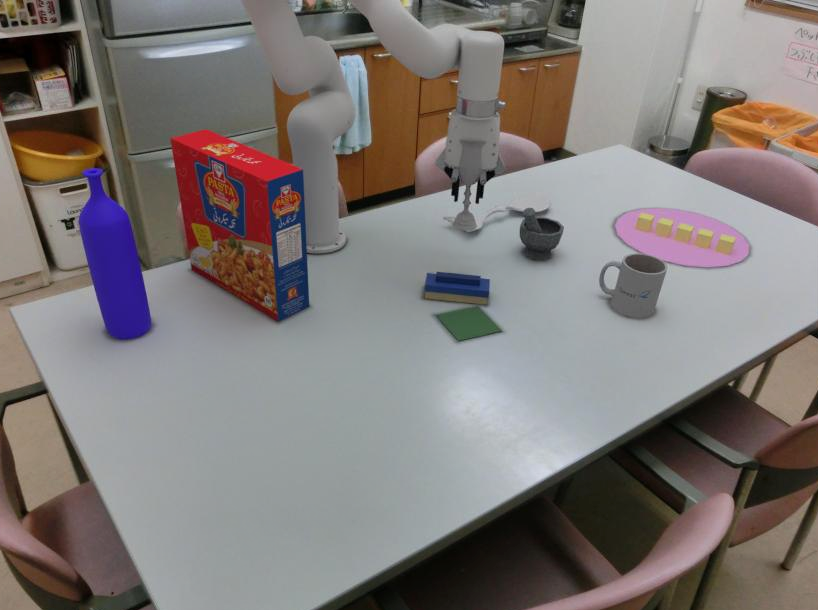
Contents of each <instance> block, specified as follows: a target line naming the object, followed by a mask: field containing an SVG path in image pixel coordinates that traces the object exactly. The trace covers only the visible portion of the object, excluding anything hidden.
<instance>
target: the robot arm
mask: <svg viewBox="0 0 818 610" xmlns="http://www.w3.org/2000/svg"><path fill="white" fill-rule="evenodd" d="M346 1H347V2H348V3H349V4H350V5H352V6H353V7H354V8H355V9H357V11H359V12H360V13H361V14H362V15H363V16H364V17H365V19H367V21H368V23H369V26H370V28H371V29H372V31H373V33H374V35H375V36H376V38H377V40H378V41H379V43H380V44H381V45H382V46H383V48H384V49H385V50H386V51H387V52H388V53H389V54H390V55H391V56H392V57H393V58H395V60H397V61H398V62H399V63H400V64H402V65H403V66H404V67H405V69H406V68H407V70H409V71H410V72H411V73H413V74H415V75H416V76H418V77H420V78H423V79H427V80H428V79H429V80H430V79H431V80H432V79H436V78H439V77H441V76H442V75H444V74H446V73H447V72H449V71H452V70H455V69H458V80H457V92H456V103H455V108H454V109H452V110H451V112H450V117H449V121H448V127H447V133H446V140H445V147H444V149H443V150H442V152H441V153H440V154H439V156H438V157H437V158H436V159H435V166H436V167H438V169H440V170H441V171H443V172H444V173H445V175H446V176H447V177H448V178H449V179H450V181H451V192H450V193H451V194H450V196H451V197H453V203H457V202H458V201H459V194H460V184H461V178H460V176H459V169H458V167H459V163H460V158H461V153H462V147H463V146H462V145H461V143H460V141H462V142H466V143H474V144H479V143H486V144H485V145H484V146H483V147H482V152H481V161H482V167H481V169H482V171H481V173H480V176H479V178H478V180H477V181H476V190H475V191H476V193H475V201H474V203H475V204H476V205H479V204H480V199H481V200H482V199H484V193H485V185H486V184H487V183H488V182H489V181H490V180H491V179H493V178H494V177H496V176H497V175H500V174H502V173H504V172H505V171H506V165H505V163H504V161H503V157H502V156H501V153H500V152H499V151H500V150H499V149H500V138H501V137H500V136H501V115H500V113H499V111H501V110H505V108H506V101H502V100H500V98H499V92H500V85H501V78H502V77H501V76H502V68H503V61H504V51H505V40H504V37H503V36H502V35H501V34H499V33H497V32H494V31H488V30H473V29H469V28H466V27H463V26H460V25H458V24H453V23H442V24H439V25H437V26H433V27H432V28H430V29H429V28H427V27H426V26H424V25H423V24H422V23H421V22H420V21H419V20H418V19H417V18H416V17H414V15H412V14H411V13H410V12H409V11H408V10H407V8H406V7H405V6H404V4H403V3H402V1H401V0H346ZM240 2H241V4H242V7H243V9H244V11H245V12H246V15H247V17H248V19H249V21H250V23H251V25H252V27H253V29H254V33H255V35H256V37H257V39H258V40H257V41H258V43H259V46H260V48H261V50H262V53H263V55H264V57H265V60H266V62H267V64H268V67H269V70H270V72H271V75H272V78H273V79H274V82H275V84H276V85H277V87H278V88H279V90H280V91H281V92H283V93H284V94H286V95H288V96H298V95H302V94H305V93H306V92H307V93H308V95H309V97H308V98H305V99H304V100H302V101H300V102H299V103H298V104H297V105H296V106H294V107H293V109H291V111H290V112H289V115H288V116H287V122H286V131H287V137H288V139H289V140H288V141H289V145H290V150H291V157H292V165H294V166H296V167H298V168H301V169H303V179H304V200H305V222H306V244H307V254H314V255H315V254H316V255H317V254H329V253H333V252H336V251H338V250H340V249H342V248H343V247H344V246H345V244H346V243H347V237H346V236H347V235H346V233H344V232H343V231H342V230H341V229H340V220H339V219H340V216H339V213H340V212H339V210H340V208H339V165H338V158H337V156H336V152H335V150H334V144H333V143H334V141H335V140H337V139H338V138H339V137H341V136H343V135H345V134H346V133H347V132H348V131H350V129H351V128H352V127H353V125H354V123H355V121H356V108H355V104H354V100H353V96H352V94H351V91H350V88H349V85H348V83H347V80H346V77H345V74H344V71H343V69H342V66H341V63H340V61H339V58H338V55H337V54H336V52H335V50H334V49H333V47H332V46H331V45H330V44H329V42H327V41H326V40H325V39H323V38H321V37H320V36H317V35H316V36H315V35H306V36H304V34H303V31H302V29H301V25H300V23H299V21H298V18H297V16H296V13H295V12H294V10H293V7H291V5H290V4H289V3H288V1H287V0H240ZM459 140H460V141H459Z"/></svg>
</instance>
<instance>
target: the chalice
mask: <svg viewBox="0 0 818 610" xmlns="http://www.w3.org/2000/svg"><path fill="white" fill-rule="evenodd" d="M459 141H460V140H459ZM460 143H461V145H462V146H463V147H462V153H461V158H460V163H459V167H458V169H459V174H458V175H459V179H460V182H461V183H462V184H463V185H465V189H464V193H463V195H464V200H463V201H462V204H463V209H462V211H460V212H458V213H457V214H456V216H455V217H456V218H455V221H454V222H453V224H452V227H454V229H457V230H459V231H465V230H473V229H475V228H476V227H477V224H476V221H475V219H474V218H475V215H474V214H473V213H472V212H470V210H469V207H470V205H471V204H472V202H471V201H470V198H471V196H472V192H471V187H472V186H474V185H475V184H477V182H478V180H479V177H480V173H481V171H482V169H481V167H482V161H481V152H482V147H483V146H484V145H485V144H486V143H479V144H474V143H466V142H462V141H460Z"/></svg>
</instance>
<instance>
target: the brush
mask: <svg viewBox="0 0 818 610" xmlns="http://www.w3.org/2000/svg"><path fill="white" fill-rule="evenodd" d="M435 272H436V273H433V272H426V277H425V282H424V299H428V300H438V301H447V302H454V303H455V302H456V303H466V304H476V305H485V306H486V305H487V304H488V298H489V296H490V285H491V284H490V283H491V279H490V278H483V277H482V276H481V275H477V274H466V273H465V274H464V273H455V272H444V271H435Z"/></svg>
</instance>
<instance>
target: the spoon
mask: <svg viewBox="0 0 818 610" xmlns="http://www.w3.org/2000/svg"><path fill="white" fill-rule="evenodd" d="M551 205H552V201H551V199H550V197H548V196H546V195H544V194H537V193H532V194H527V195H526V194H525V195H523V196H522V195H521V196H520V197H517V198H515V199H513V200H511V201H510V202H509V203H508V204H504V205H495V207H494V208H492V209H489V210H487V211H486V212H484V213H482V214H481V215H479V216H477V217H474V219H475V221H476V224H477V227H476V228H475V229H473V230H464V231H465V232H466V233H471V232H474V231H478V230H480V229H482V227H483V225H484V223H485V221H486V220H487V219H488V218H489V217H490V216H492V215H494V214H497V213H505V212H507V210H510V211H511V210H512V211H517V212H521V213H523V211H524V210H525V209H526V208H533V209H534V210H535V214H537V213H540V212H544V211H545V210H547V209H549V208H550V207H551ZM455 218H456V216H452V215H443V217H442V219H443V220H445V221H447V223H450V224H451V225H453V222H454V221H455Z"/></svg>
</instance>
